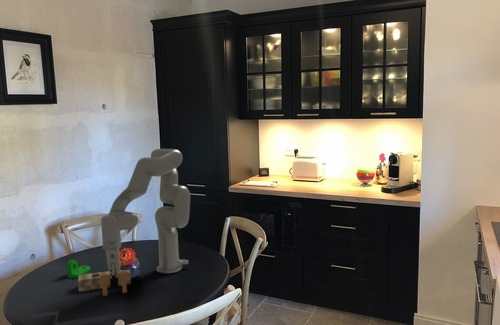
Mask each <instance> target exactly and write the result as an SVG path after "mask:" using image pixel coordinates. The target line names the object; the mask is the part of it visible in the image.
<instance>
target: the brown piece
mask: <svg viewBox="0 0 500 325" xmlns="http://www.w3.org/2000/svg"><path fill="white" fill-rule="evenodd" d="M117 277H118V284H119V283H122V287H121V288H122V294H126V293H128V288H127V285H126V282H128V272H124V273H117ZM110 278H111V277H110V274H109V275H101V276H100V286H102V288H101V289H102V297H105V296H106V297H107V296H108V288H107V285H110Z"/></svg>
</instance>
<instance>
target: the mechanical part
mask: <svg viewBox="0 0 500 325" xmlns="http://www.w3.org/2000/svg"><path fill="white" fill-rule="evenodd" d="M78 265H79V264H78V260H76V259H75V260H74V259H70V260H68V262H67V266H66V270H67V271H66V272H67V278H70V279H71V278H72V279H79V275H84V274H88V273H89V272H90V271H91V266H89V265H80V266H78Z"/></svg>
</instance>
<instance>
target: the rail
mask: <svg viewBox="0 0 500 325" xmlns="http://www.w3.org/2000/svg"><path fill="white" fill-rule="evenodd" d="M123 269H124V268H123ZM123 269H120V271H117V273H124V272H128V282H126V285H128V286H129V285H132V281H131V280H132V277H131V269H130V270H123ZM109 274H110V273H109V272H108V270H107V271H100V272H93V273H86V274H84V275H79V278H77V282H78V292H85V291H93V290H100V289H102V286H100V276H101V275H109ZM120 286H122V283H119V284H118V287H120ZM108 288H111V286H110V285H107V289H108Z"/></svg>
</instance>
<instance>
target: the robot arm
mask: <svg viewBox="0 0 500 325" xmlns="http://www.w3.org/2000/svg"><path fill="white" fill-rule="evenodd" d="M183 158H184V157H183V154H182V152H181V151H179V149H176V148H156V149H154V150H152V152H151V153H150V157H141V158H139V159H138V161H136V162H137V163H136V164H135V167H134V170H133V172H132V175H131V177H130V180H129V183H128V185H127V187H125V189H124V190H122V191H121V193H119V195H118V196H116V198H115V200H114V201H113V202H112V205H111V208H110V211H109V213H108V214H107V215H104V216H102V217H101V220H100V224H101V226H100V227H101V239H102V240H101V241H102V249H103V250H105V255H106V266H107V269H108V270H107V271H108V272H109V273H110V277H111V278H110V286H111V287H110V288H111V289H112V288H118V287H119V286H118V277H117V271H120V270H121V259H120V258H121V255H120V248H121V247H122V237H121V236H122V235H121V234H122V233H121V231H127V230H132V229H134V228H136V227H137V226H138V224H139V216H138V215H137V214H136V213H134V212H131V211H126V209H127V207H128V206H129V205H130V203H131V202H133V201H134V200H136V199H139V198H140V197H142V196H144V195H146V193H147V190H148V188H149V185H150V183H151V180H152V178H153V177H160V181H159V182H160V185H159V200H160V201H161V202H162V203H164V204H166V205H165V206H160V207H159V208H157V210H156V211H155V213H154V221H155V225H156V228H157V240H158V261H159V265H158V266H156V272H157V273H160V274H172V273H173V274H174V273H177V272H180V271H181V270H182V269H183V265H189V260H188V259H181V258H180V255H179V239H178V238H179V237H178V236H179V234H178V230H177V229H182V228H185V227H186V226H187V224H188V223H189V220H190V209H191V193H190V189H188V187H187V186H185V185H181V184H179V173H178V170H177V169H178V167H179V166H181V164H182V162H183ZM167 204H168V205H174V206H168V205H167Z"/></svg>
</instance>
